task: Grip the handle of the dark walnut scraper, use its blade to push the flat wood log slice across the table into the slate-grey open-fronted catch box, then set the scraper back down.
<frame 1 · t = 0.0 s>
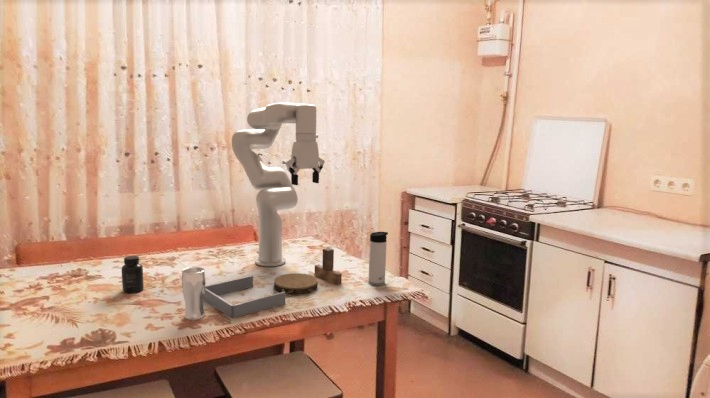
hand: (305, 183, 193), 37 cm above the table, tool pointing down, fingers open, 9 cm apart
beer glass: (194, 316, 161), on the table
supplement bottle: (133, 290, 181), on the table
scraper: (327, 279, 198), on the table
wood log slice: (295, 288, 188), on the table
catch box: (243, 300, 174), on the table
travel mug: (377, 283, 195), on the table
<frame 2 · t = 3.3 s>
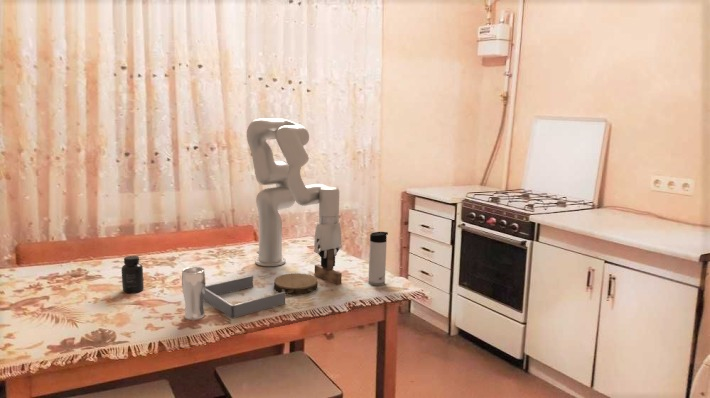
hand: (327, 265, 197), 5 cm above the table, tool pointing down, fingers closed on scraper, 3 cm apart
scraper: (327, 279, 198), on the table, touching gripper
everything else where it was.
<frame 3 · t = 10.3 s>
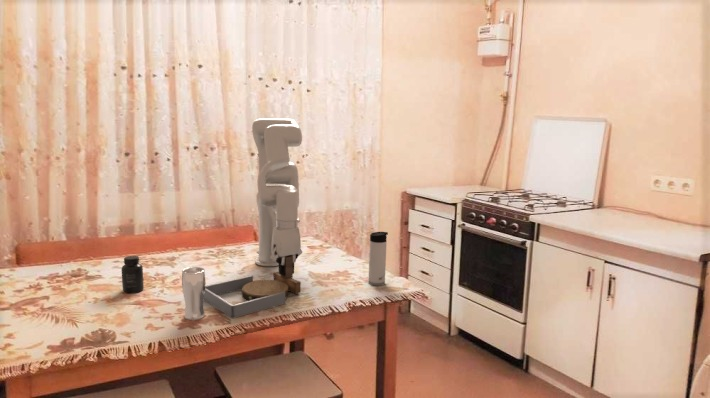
hand: (286, 273, 185), 6 cm above the table, tool pointing down, fingers closed on scraper, 3 cm apart
scraper: (286, 287, 186), point 1 cm above the table, touching gripper
wood log slice: (265, 295, 180), on the table
everything else where it was.
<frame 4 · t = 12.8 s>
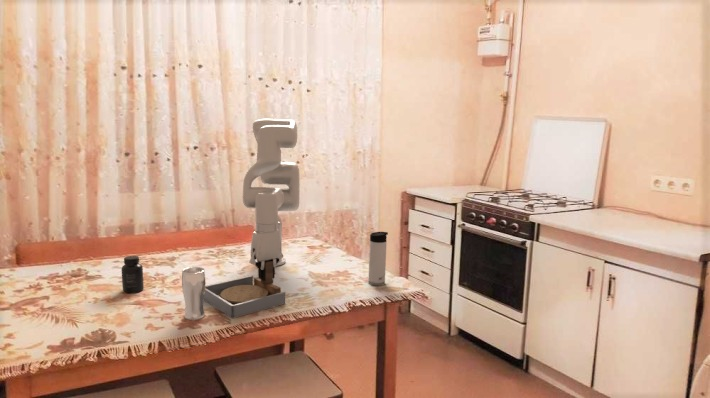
hand: (266, 277, 179), 6 cm above the table, tool pointing down, fingers closed on scraper, 3 cm apart
scraper: (267, 293, 180), on the table, touching gripper
wood log slice: (244, 301, 175), on the table
everything else where it was.
when the fingers open (6 cm above the table, at t = 19.0 s): scraper stays where it is, on the table.
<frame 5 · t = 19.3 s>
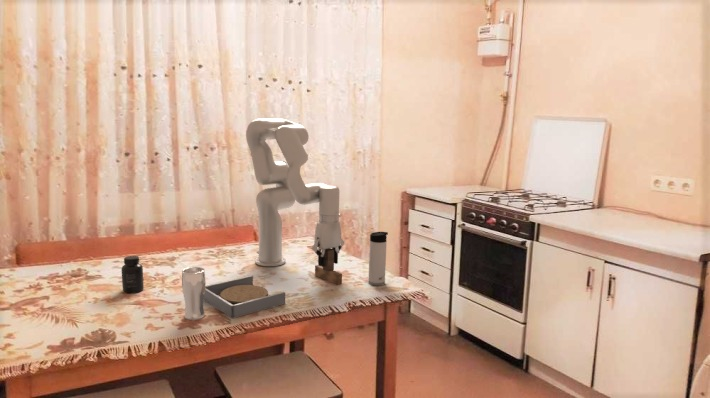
hand: (327, 264, 197), 6 cm above the table, tool pointing down, fingers open, 5 cm apart
scraper: (328, 279, 198), on the table
everything else where it was.
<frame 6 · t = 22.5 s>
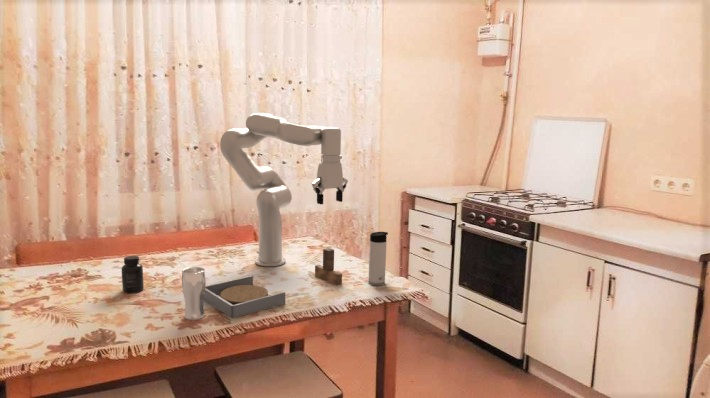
hand: (329, 202, 202), 28 cm above the table, tool pointing down, fingers open, 9 cm apart
nothing on the table moved.
at the end: wood log slice inside the target area (0.6 cm from its centre), on the table; wood log slice tilted 0°; the gripper is holding nothing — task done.
